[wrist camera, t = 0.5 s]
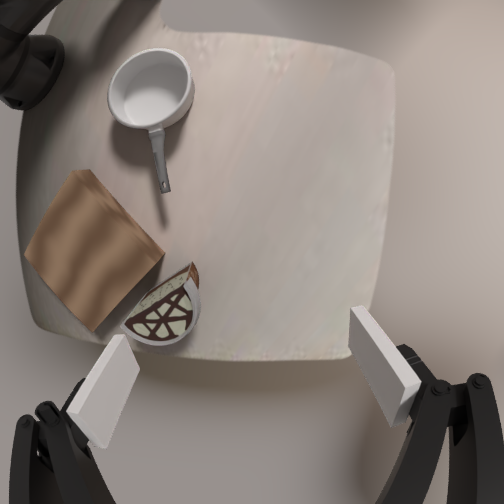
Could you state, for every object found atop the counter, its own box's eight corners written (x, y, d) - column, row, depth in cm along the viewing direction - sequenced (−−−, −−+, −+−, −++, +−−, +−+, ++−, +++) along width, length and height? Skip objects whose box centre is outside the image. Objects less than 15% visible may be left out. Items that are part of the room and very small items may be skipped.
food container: (164, 324, 42) (147, 361, 33) (140, 295, 41) (117, 328, 31) (224, 288, 41) (219, 323, 31) (200, 256, 39) (187, 283, 30)
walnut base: (40, 246, 38) (24, 254, 33) (89, 169, 34) (72, 170, 30) (104, 318, 42) (92, 332, 37) (165, 252, 39) (155, 264, 34)
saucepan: (139, 198, 36) (124, 203, 31) (120, 76, 30) (104, 65, 25) (215, 180, 36) (211, 182, 31) (192, 53, 30) (185, 37, 25)
